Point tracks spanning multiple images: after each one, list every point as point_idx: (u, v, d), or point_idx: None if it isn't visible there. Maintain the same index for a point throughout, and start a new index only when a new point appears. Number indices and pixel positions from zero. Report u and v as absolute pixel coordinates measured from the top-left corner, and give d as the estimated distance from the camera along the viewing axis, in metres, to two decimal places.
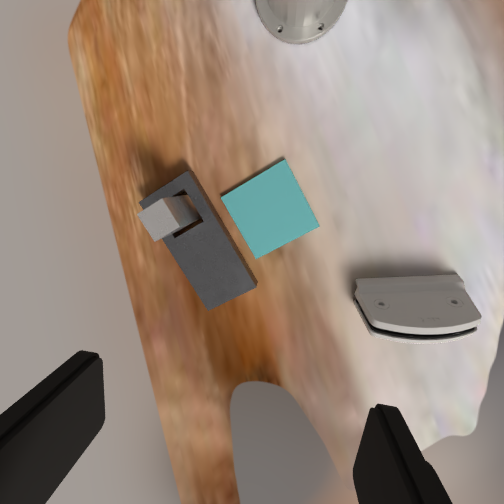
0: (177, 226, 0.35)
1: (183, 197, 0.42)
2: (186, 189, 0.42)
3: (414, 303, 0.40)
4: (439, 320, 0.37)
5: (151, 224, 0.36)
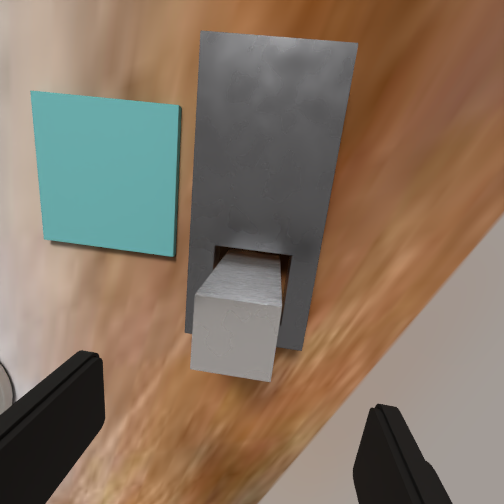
0: (199, 299, 0.13)
1: None
2: None
3: None
4: None
5: (258, 343, 0.13)
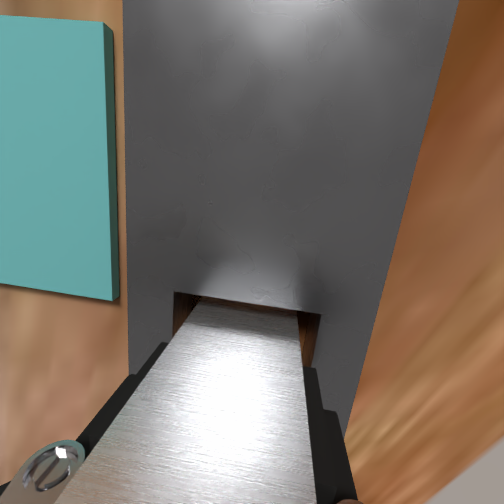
0: None
1: None
2: None
3: None
4: None
5: None
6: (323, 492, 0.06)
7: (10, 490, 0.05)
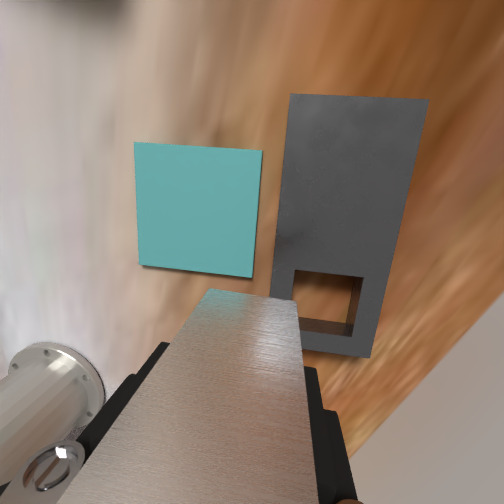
0: None
1: None
2: None
3: None
4: None
5: None
6: (323, 492, 0.06)
7: (10, 490, 0.05)
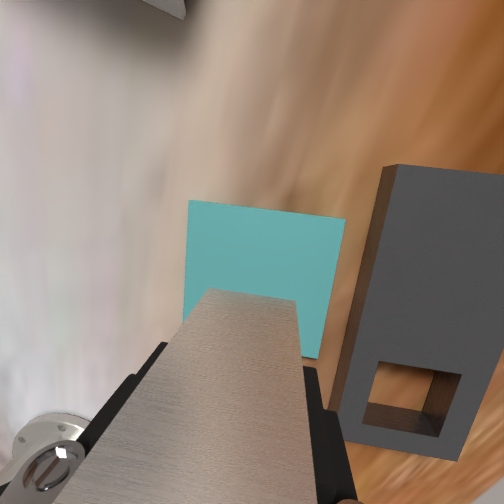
0: None
1: None
2: (359, 420, 0.21)
3: None
4: None
5: None
6: (323, 492, 0.06)
7: (10, 490, 0.05)
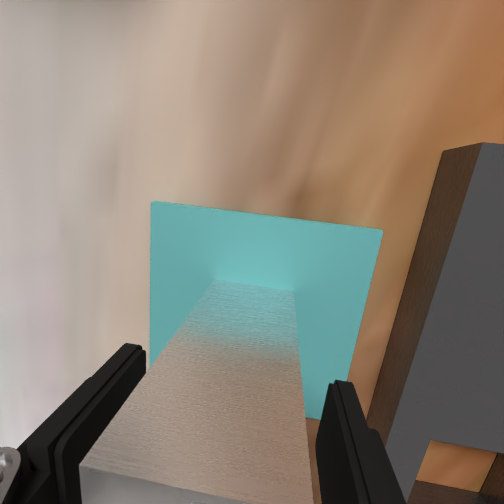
0: (92, 476, 0.05)
1: None
2: None
3: None
4: None
5: None
6: None
7: None
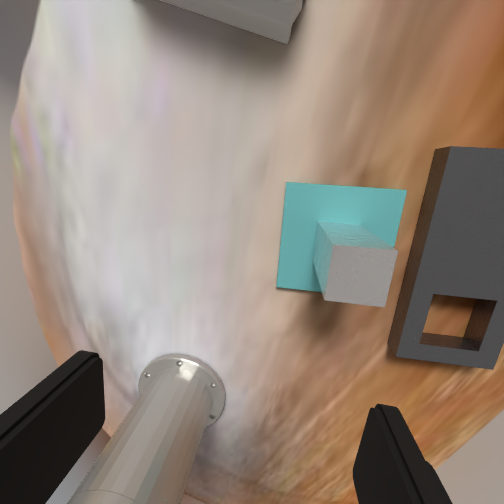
0: (336, 247, 0.19)
1: (315, 264, 0.27)
2: (417, 341, 0.28)
3: None
4: None
5: (377, 278, 0.19)
6: None
7: None
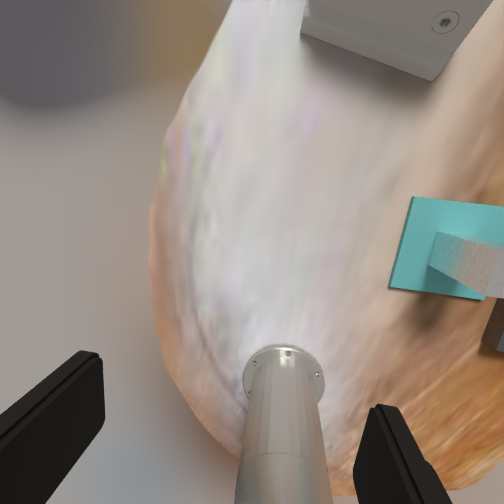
0: (503, 253, 0.23)
1: (440, 268, 0.31)
2: None
3: (397, 4, 0.25)
4: None
5: None
6: None
7: None
